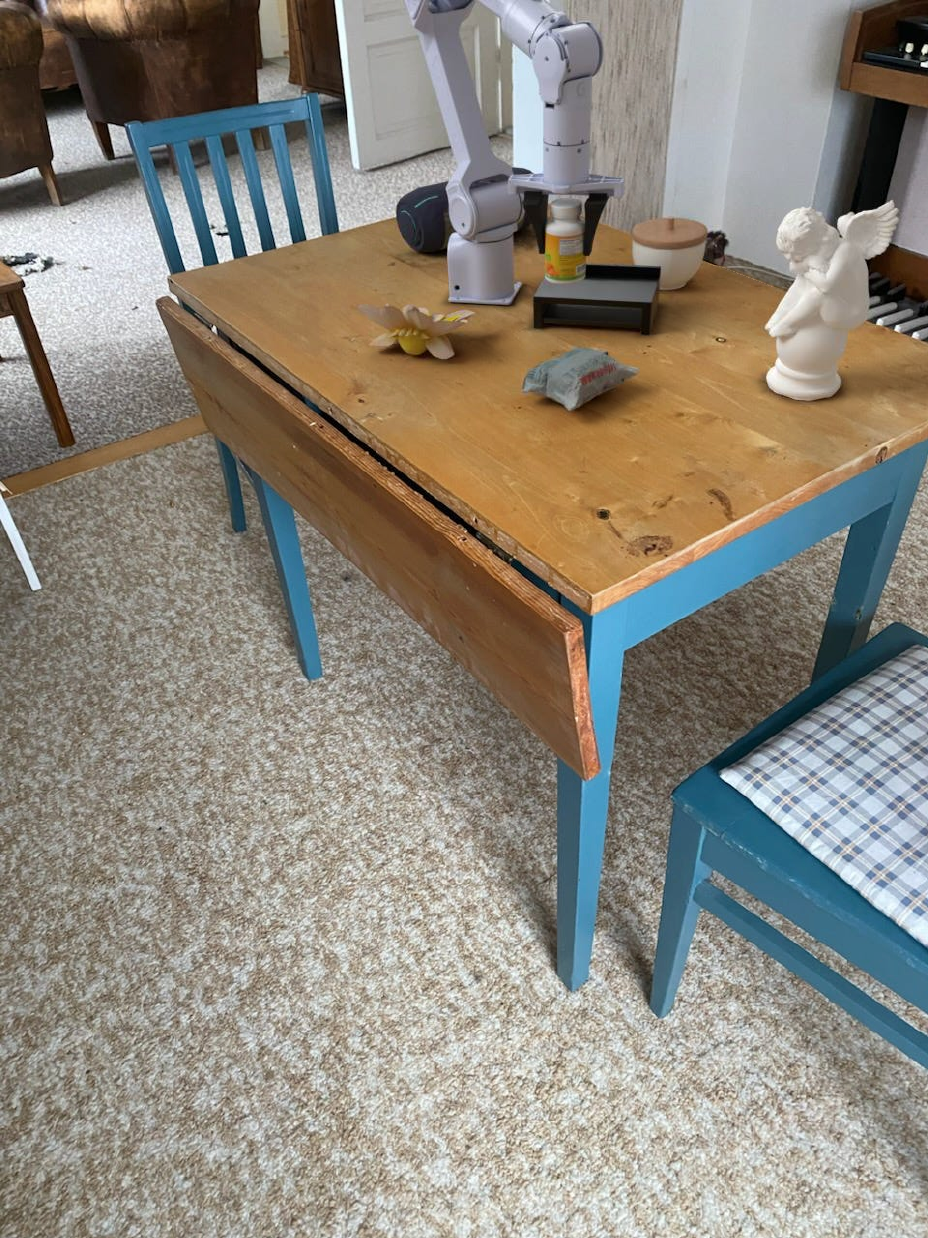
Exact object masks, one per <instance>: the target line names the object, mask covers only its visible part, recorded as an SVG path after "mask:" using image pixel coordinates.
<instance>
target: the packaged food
mask: <svg viewBox="0 0 928 1238" xmlns="http://www.w3.org/2000/svg"><path fill="white" fill-rule="evenodd" d="M638 374H639V368H638V367H636V366H630V365H625V364H623V363H621V362H620V361H618V360H617V359H615V358H613V357H611V356H610V354H609V352H608V351H606V350H601V349H595V348H589V347H583V346H575V347H574V348H572V349H570V350H568V351H566V352H564V353H562V354H560V355H558V356H556V357H553V358H550V359H549V360H545V361H543V362H541V363H540V364H538V365H535V366H534V367H533V368H530V369H529V370H528V371H527V373H526V375H525V377H524V378H523V381H522V382H523V385H522V390H521V392H523V394H526V395H528V394H529V393H534V395H538V396H541V397H544V398H547V399H549V400H551V401H553V402H556V403H558V404H562V405H563V406H564V408H565V409H566V411H568V412H572V411H574V410H576V409H579V408H580V407H582V406H583V405H585V404H586V403H588V402H590V401H592V399H594V398H595V397H596V398H597V397H600V396H602V395H604V394H605V393H606V392H608V391H610V390H611V389H613V388H617V387H619V386H621V385H623V384H624V383H625V382H627V381H628V380H630V379H632V378H634V377H635V376H637V375H638Z"/></svg>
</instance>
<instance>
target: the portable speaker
mask: <svg viewBox="0 0 928 1238" xmlns="http://www.w3.org/2000/svg"><path fill="white" fill-rule="evenodd" d="M511 167H512V166H511ZM512 171H513V174H514V175H526V174H535V173H534V172H532V171H531V170H530V169H527V168H524V167H515V166H513V167H512ZM449 181H450V180H447V181H443V182H437V183H433V184H429V185H423V186H419V187H417V188H415V189H412V190H411V191H409V192H407V193H405V194H404V195H402V196H401V198H400V199H399V200H398V202H397V204H396V207H395V217H396V218H395V219H396V223H397V227H398V230H399V232H400V235H401V237H402V239H403V240H404V241H405V243H406V244H407V245H408V247H410V249H412V250H413V251H417V252H420V253H431V252H432V253H433V252H438V251H442V250H448V242H449V239H450V236H451V234H452V233H455V232H456V230H455V229H454V227H453V225H452V223H451V220H450V216H449V201H448V196H447V192H446V186H447V184H448V182H449ZM485 184H488V183H481V184H477V185H474V186H470V187H469V189H470V188H474V187H478V186H481V185H485ZM530 226H532V224H531V222H530V220H529V218H528V216H527V214H526V212H524V216H523V218H522V220H521V221H520V222H519V223H517V231H515V232H520V231H523V230H525V229H528V228H530ZM515 232H514V233H515Z"/></svg>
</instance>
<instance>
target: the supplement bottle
mask: <svg viewBox="0 0 928 1238" xmlns="http://www.w3.org/2000/svg"><path fill="white" fill-rule="evenodd" d="M549 209H550V210H549V211H550V216H551V217H550V218H549V219H547V222H546V225H545V254H544V277H545V278H546V280H547V281H549V282H550V283H553V284H558V285H570V284H575V283H578V282H580V281H582V280H583V279H584V278H585V270H586V263H587V256H584V240H585V218H583V217H582V216H581V215H582V212H583V201H582V200H580V199H578V198H576V197H575V198H574V197H561V198H557V199H553V200H552V201H551V202H550V208H549Z"/></svg>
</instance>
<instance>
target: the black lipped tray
mask: <svg viewBox="0 0 928 1238" xmlns="http://www.w3.org/2000/svg"><path fill="white" fill-rule="evenodd" d="M660 277H661V266H642V265H634V264H616V263H612V264H611V263H594V262H593V263H591V262H586V270H585V278H584V279H583V280H582V281H580V282H578V283H575V284H570V285H558V284H553V283H550V282H549V281H547V280H546V278H545V276H544V277H543V279H542V280H541V282H540V284H539V285H538V288H537V289H536V290H535V293H534V294H533V297H532V301H533V304H532V305H533V306H532V307H533V309H532V312H533V313H532V314H533V319H532V320H533V329H543V327H544V325H545V324H554V325H555V324H556V325H572V326H574V325H575V326H590V327H607V328H608V327H610V328H623V329H624V328H625V329H626V328H627V329H640V335H641V336H642V335H643V336H644V335H646V336H649V335H650V334H651V330H652V329H653V324H654V321H655V318H656V314H657V311H658V308H659V302H660V291H661V290H660Z"/></svg>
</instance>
